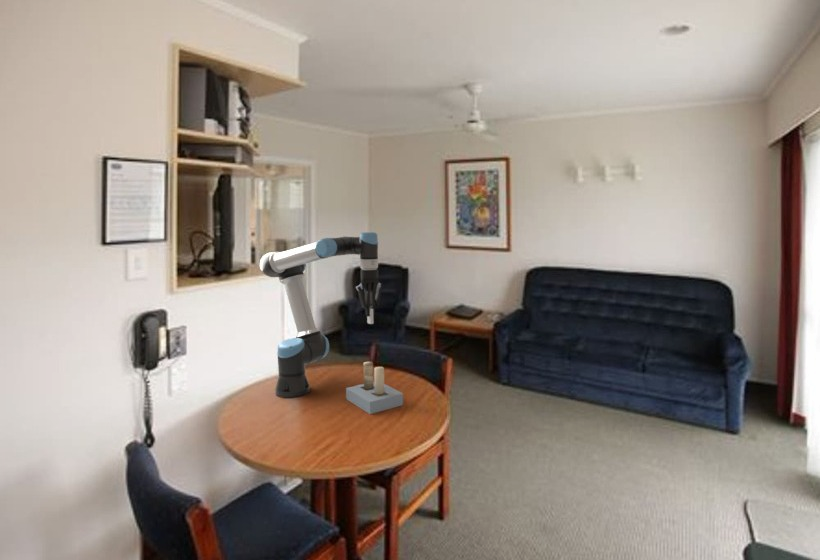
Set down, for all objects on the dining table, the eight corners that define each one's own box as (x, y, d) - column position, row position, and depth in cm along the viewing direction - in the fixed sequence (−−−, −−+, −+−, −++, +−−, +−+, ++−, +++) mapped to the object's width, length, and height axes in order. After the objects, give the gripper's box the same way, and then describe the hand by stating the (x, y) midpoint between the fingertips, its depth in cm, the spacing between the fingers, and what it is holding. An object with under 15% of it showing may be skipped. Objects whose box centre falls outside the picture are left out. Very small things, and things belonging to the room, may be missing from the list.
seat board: (346, 399, 208) (345, 363, 206) (377, 391, 217) (377, 356, 215) (370, 414, 192) (369, 375, 190) (403, 405, 201) (402, 367, 199)
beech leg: (362, 398, 208) (361, 362, 206) (370, 396, 211) (369, 361, 209) (367, 401, 205) (366, 365, 203) (375, 399, 207) (374, 363, 205)
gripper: (360, 270, 198) (361, 327, 201) (387, 268, 205) (387, 322, 208) (351, 269, 204) (352, 323, 207) (377, 267, 211) (378, 319, 214)
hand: (370, 323), depth 207 cm, fingers closed
